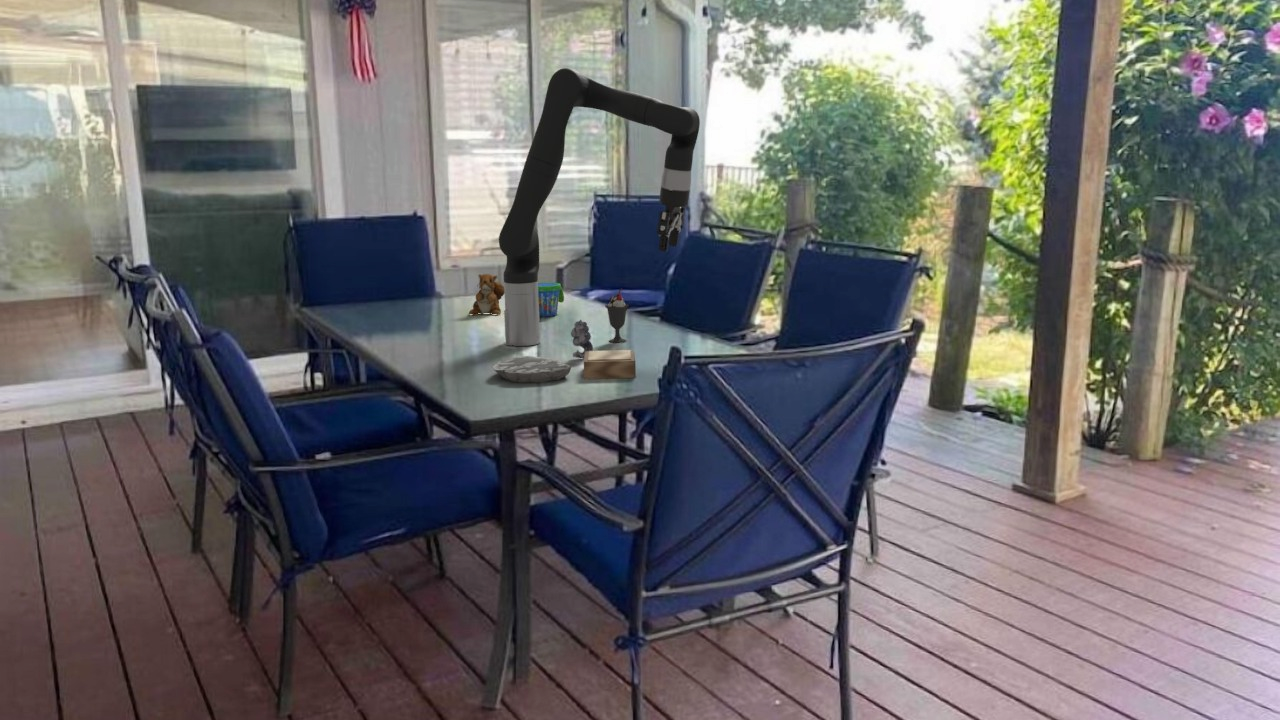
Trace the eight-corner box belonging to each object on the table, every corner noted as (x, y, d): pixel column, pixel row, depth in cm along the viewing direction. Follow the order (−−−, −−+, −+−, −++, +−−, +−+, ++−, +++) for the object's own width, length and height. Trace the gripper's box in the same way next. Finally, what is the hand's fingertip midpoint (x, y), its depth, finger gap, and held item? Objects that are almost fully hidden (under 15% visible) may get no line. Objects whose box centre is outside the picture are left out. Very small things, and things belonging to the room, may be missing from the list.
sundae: (627, 343, 265) (626, 289, 261) (603, 343, 266) (601, 289, 263) (632, 339, 271) (631, 286, 268) (608, 338, 272) (607, 285, 269)
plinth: (584, 378, 225) (583, 360, 224) (585, 367, 237) (585, 350, 236) (635, 377, 225) (635, 359, 224) (634, 366, 237) (634, 349, 236)
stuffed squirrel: (467, 316, 314) (465, 275, 311) (481, 309, 327) (479, 270, 325) (497, 316, 312) (495, 276, 309) (509, 309, 326) (508, 270, 323)
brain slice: (475, 377, 230) (475, 365, 229) (532, 365, 241) (531, 353, 241) (526, 390, 216) (526, 377, 215) (584, 377, 228) (583, 365, 227)
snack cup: (553, 310, 322) (552, 280, 319) (574, 314, 314) (573, 283, 312) (516, 316, 311) (514, 285, 309) (536, 320, 304) (535, 288, 301)
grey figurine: (577, 361, 244) (576, 322, 242) (569, 357, 249) (567, 319, 247) (596, 358, 246) (595, 320, 244) (587, 355, 251) (586, 317, 249)
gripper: (670, 182, 256) (663, 242, 261) (652, 187, 244) (645, 250, 249) (697, 186, 254) (689, 246, 259) (680, 191, 241) (673, 255, 246)
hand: (668, 248), depth 254 cm, fingers open, 8 cm apart
